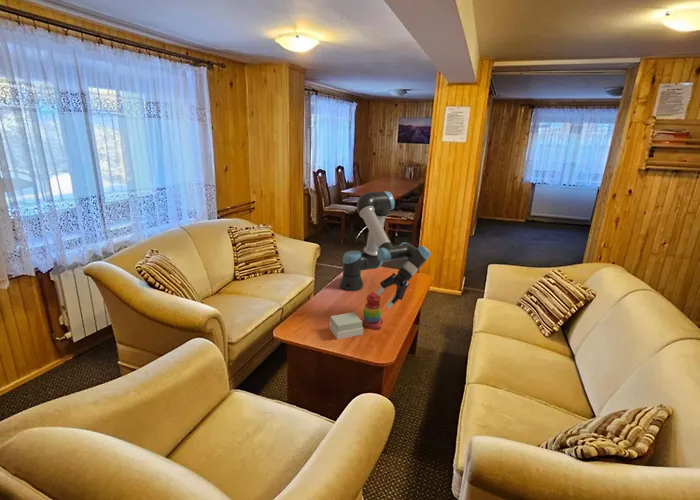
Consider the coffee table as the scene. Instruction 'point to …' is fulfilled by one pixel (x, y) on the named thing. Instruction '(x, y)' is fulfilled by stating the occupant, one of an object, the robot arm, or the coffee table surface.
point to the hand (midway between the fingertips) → (381, 302)
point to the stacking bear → (372, 312)
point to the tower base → (346, 333)
